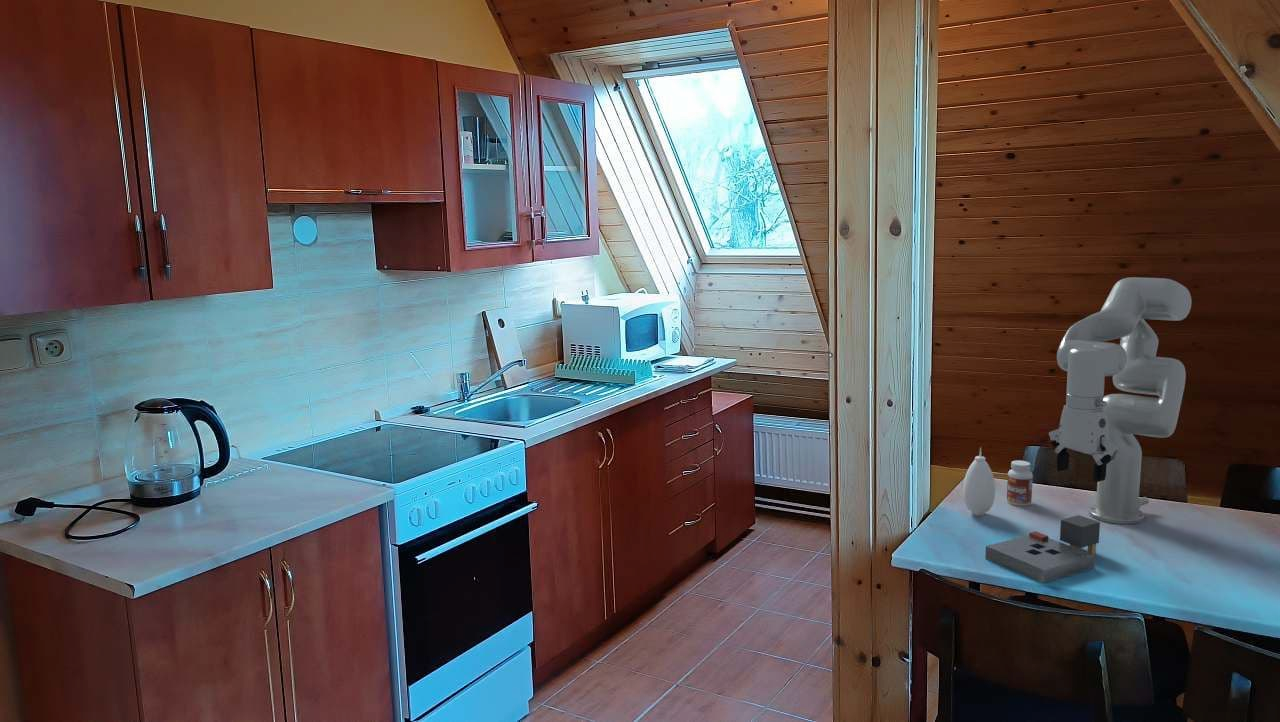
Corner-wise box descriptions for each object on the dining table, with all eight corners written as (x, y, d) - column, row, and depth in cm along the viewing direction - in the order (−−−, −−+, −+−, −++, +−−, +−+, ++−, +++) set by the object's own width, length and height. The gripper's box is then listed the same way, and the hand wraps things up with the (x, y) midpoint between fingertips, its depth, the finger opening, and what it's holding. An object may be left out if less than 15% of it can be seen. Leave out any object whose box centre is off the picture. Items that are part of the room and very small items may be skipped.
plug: (1076, 545, 218) (1078, 515, 217) (1098, 553, 213) (1099, 522, 212) (1059, 550, 215) (1060, 519, 214) (1080, 558, 210) (1082, 527, 209)
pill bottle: (1003, 503, 248) (1004, 463, 246) (1010, 497, 253) (1012, 458, 251) (1027, 508, 244) (1029, 467, 242) (1034, 501, 249) (1036, 461, 247)
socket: (1034, 545, 219) (1035, 529, 218) (1094, 568, 205) (1095, 551, 204) (985, 558, 212) (985, 542, 211) (1043, 583, 198) (1044, 566, 197)
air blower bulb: (961, 508, 245) (963, 442, 242) (992, 510, 243) (995, 443, 240) (963, 518, 238) (965, 450, 235) (995, 520, 236) (998, 452, 233)
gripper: (1130, 407, 202) (1126, 482, 205) (1063, 393, 217) (1060, 463, 220) (1107, 411, 199) (1102, 488, 202) (1040, 397, 214) (1037, 468, 217)
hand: (1080, 475), depth 211 cm, fingers open, 9 cm apart
